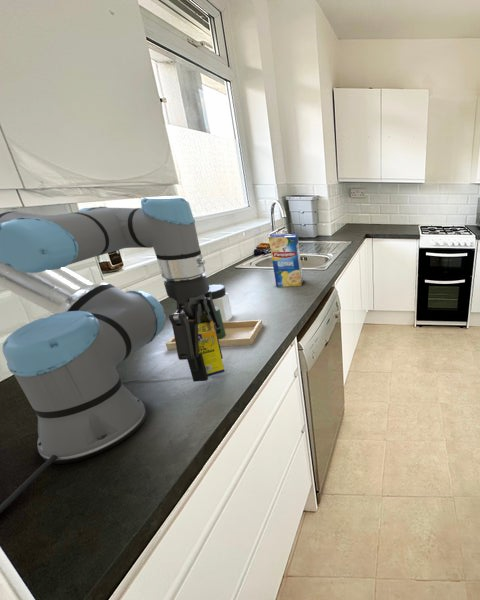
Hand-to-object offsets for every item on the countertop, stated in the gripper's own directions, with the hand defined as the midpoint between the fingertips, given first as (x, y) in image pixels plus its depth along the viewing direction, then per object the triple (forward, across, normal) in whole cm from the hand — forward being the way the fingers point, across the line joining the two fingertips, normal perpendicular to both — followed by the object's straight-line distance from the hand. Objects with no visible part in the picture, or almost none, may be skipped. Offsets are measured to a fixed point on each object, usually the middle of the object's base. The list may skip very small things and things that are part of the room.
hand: (209, 369), depth 73 cm
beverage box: (+5, +74, -4) cm, 74 cm away
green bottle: (+4, +24, +8) cm, 26 cm away
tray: (+5, +24, +8) cm, 26 cm away
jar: (+5, +37, +13) cm, 39 cm away
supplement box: (0, 0, 0) cm, 0 cm away
